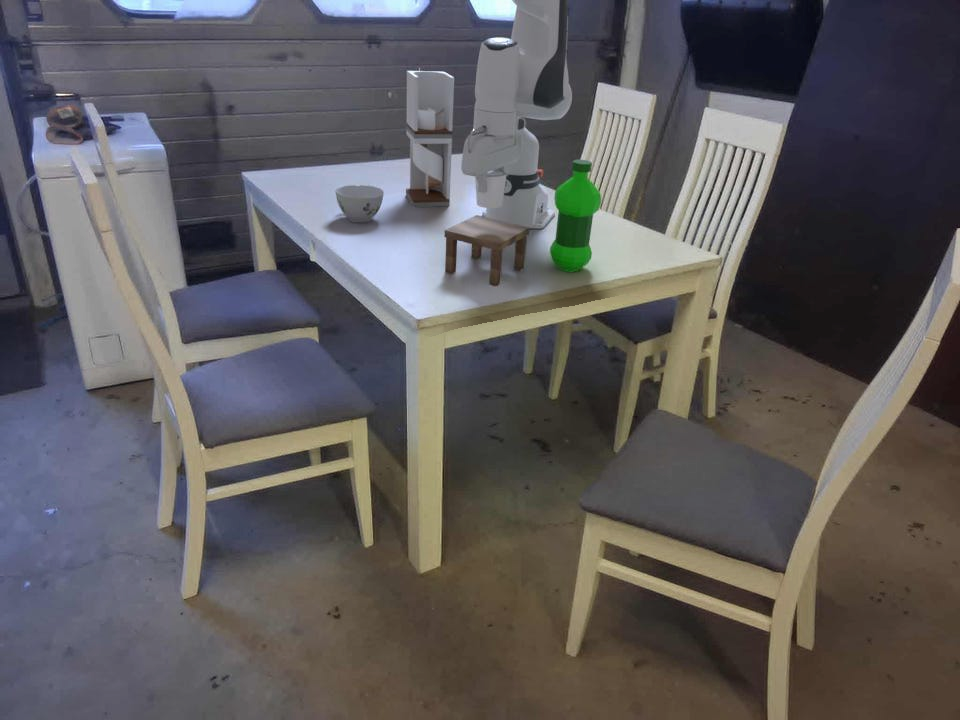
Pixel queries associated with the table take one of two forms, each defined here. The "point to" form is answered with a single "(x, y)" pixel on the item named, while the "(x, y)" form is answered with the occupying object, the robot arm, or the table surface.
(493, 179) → the white cup
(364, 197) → the teacup
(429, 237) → the table surface
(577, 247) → the plastic bottle
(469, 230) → the wooden stool
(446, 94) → the display case
